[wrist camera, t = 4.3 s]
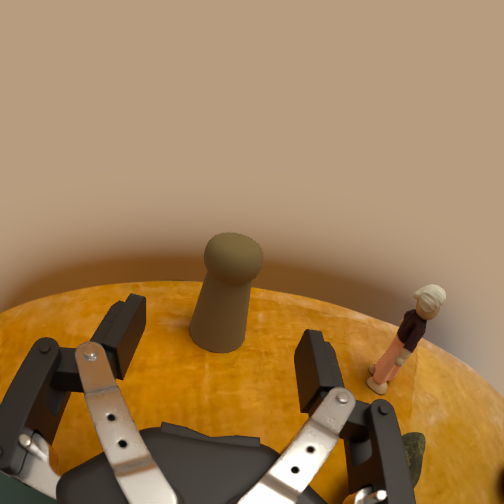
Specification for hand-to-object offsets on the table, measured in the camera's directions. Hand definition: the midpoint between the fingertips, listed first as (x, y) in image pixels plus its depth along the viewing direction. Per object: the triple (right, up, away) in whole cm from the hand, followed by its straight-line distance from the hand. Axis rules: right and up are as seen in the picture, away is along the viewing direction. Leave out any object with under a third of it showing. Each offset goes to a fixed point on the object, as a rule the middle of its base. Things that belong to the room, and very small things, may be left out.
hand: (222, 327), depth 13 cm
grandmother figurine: (+16, -11, +14) cm, 23 cm away
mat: (-14, -15, -11) cm, 24 cm away
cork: (-2, -5, +15) cm, 16 cm away
